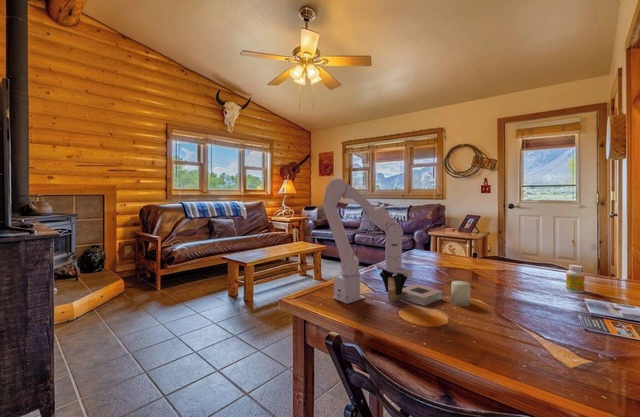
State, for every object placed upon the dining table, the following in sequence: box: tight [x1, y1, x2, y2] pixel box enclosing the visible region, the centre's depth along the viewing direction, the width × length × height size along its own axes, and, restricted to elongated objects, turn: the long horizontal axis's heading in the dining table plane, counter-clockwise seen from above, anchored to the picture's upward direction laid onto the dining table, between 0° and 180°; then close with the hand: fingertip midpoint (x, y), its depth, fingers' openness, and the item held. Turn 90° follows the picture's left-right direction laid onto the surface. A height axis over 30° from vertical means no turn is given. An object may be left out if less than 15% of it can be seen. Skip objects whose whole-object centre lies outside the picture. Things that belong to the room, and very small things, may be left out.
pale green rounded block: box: [450, 280, 471, 307], centre depth 107 cm, size 6×6×7 cm
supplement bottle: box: [565, 264, 586, 294], centre depth 118 cm, size 5×5×10 cm
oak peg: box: [387, 275, 400, 302], centre depth 111 cm, size 4×4×8 cm
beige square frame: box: [399, 283, 443, 307], centre depth 112 cm, size 11×11×3 cm
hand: (393, 292), depth 111 cm, fingers closed on oak peg, 4 cm apart
